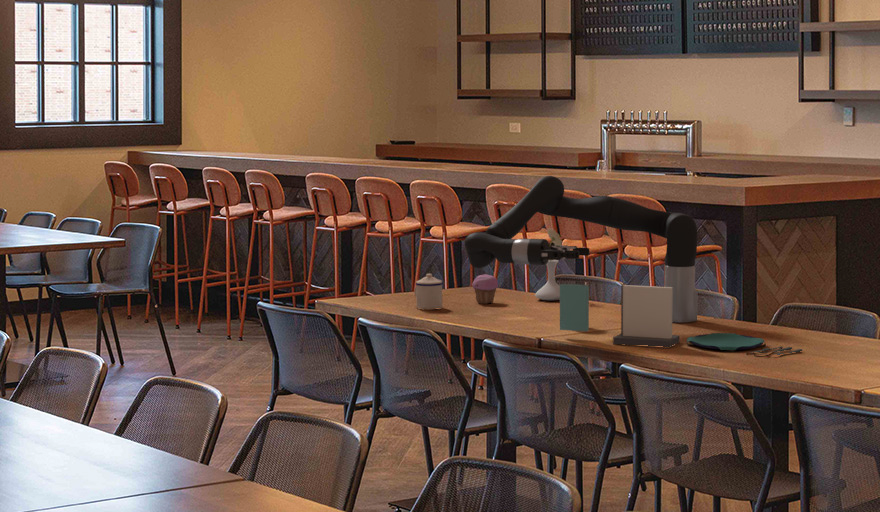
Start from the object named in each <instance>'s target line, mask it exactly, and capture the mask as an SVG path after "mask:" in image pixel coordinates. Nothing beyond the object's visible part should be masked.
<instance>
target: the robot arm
mask: <svg viewBox="0 0 880 512" xmlns="http://www.w3.org/2000/svg"><path fill="white" fill-rule="evenodd" d="M564 194H565V186H564V182H562V180H560V178H559V177H557V176H553V175H546V176H543V177H540V179H538V181H537V182H536V183H535V184H534V185H533V187H532V188H531V189H530V190H529V191H528V192H527V193H526V194H525V195H524V196H523V197H522V199H520V200H519V201H518V202H517V203H516V204H515V205H514V206H513V207H511V208H510V209H509V210H508V211H507V212H505V213H504V214H502V215H501V217H500V218H498V219H497V220H495V221H494V222H493V223H492V224H490V225H489V226H488V227H487V228H486V231H485V232H481V231H479V232H472V233H470V234H469V235H467V236H466V238H465V239H464V242H463V243H464V248H465V251H466V254H467V258H468V262H469V264H470V265H471V266H472V267H473V268H475V269H481V268H486V267H488V266H489V265H490V264H491V263H492V262H493V261H494V260H495V259H496V260H497V261H498V262H499V263H501V264H502V263H503V264H518V265H528V266H529V265H530V266H536V265H537V266H545V265H546V264H547V263H548V261H549V260H550V259H551V260H558V261H561V260H566V259H570V260H571V259H572V260H578V259H580V256H582V257H584V256H587V257H588V256H590V248H589V247H578V246H577V245H563V246H560V245H555V244H553V245H550V242H549V241H548V240H547V239H546V238H518V239H517V238H514V237H515V236H516V235H518V234H519V233H520V231H522V229H524V228H525V226H526V225H527V224H528V222H529V221H530V220H531V219H532V218H533V217H534V216H535V215H536V214H537V213H539V214H540V215H541V214H542V215H544V216H550V217H551V216H552V217H557V218H567V219H573V220H578V221H583V222H587V223H593V224H597V225H600V226H604V227H608V228H613V229H617V230H623V231H632V232H645V233H649V234H653V235H655V236H658V237H661V238H665V239H666V254H665V257H664V287H673V294H672V323H678V324H679V323H692V322H697V321H698V290H697V289H696V259H697V255H698V254H697V252H698V226H697V222H696V220H695V219H694V218H693V217H692V216H690V215H688V214H687V213H682V212H673V211H666V210H665V211H664V210H657V209H652V208H648V207H646V206H643V205H641V204H638V203H635V202H633V201H630V200H626V199H622V198H618V197H614V196H611V195H598V196H596V195H595V196H591V197H584V198H574V197H568V196H564ZM549 245H550V246H549ZM546 266H547V265H546Z"/></svg>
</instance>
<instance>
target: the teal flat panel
mask: <svg viewBox="0 0 880 512" xmlns="http://www.w3.org/2000/svg"><path fill="white" fill-rule="evenodd" d="M559 286H560V300H559V330H560V331H571V332H588V331H590V330H589V329H590V323H589V322H590V319H589V317H590V316H589V315H590V314H589V311H590V310H589V309H590V308H589V307H590V302H589V301H590V297H589V296H590V287H589V286H590V284H576V283H575V284H572V283H561V284H559Z"/></svg>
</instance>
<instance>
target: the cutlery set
mask: <svg viewBox="0 0 880 512" xmlns="http://www.w3.org/2000/svg"><path fill="white" fill-rule="evenodd" d="M689 343H691V344H693V345H694V346H698V347H702V348H705V349H706V348H707V349H713V350H721V351H722V350H734V351H737V350H738V351H740V350H741V351H743V350H751V349H754V348H755V349H756V348H759V347H760V346H762V345H763V344H764V345H763V347H764V346H765V347H766V342H765V339H764V338H761V337H760V338H759V337H754V336H751V335H744V334H738V333H731V332H729V333H728V332H713V333H707V334H706V333H705V334H699V335H695V336H689V337H687V338H686V344H687V345H689ZM777 348H779V349H777ZM780 348H783V346H779V347H773V348H768V347H766V348H762V350H761V349H760V350H754V351H750V352H751V353H752V352H753V353H754V352H760V351H767V350H770V351H772V349H773V350H774V351H772V352H777V351H780V352H777V353H773V355H774V354H777V355H780V354H784V353H785V352H784V350H786V351H789V353H792V352H800V351H802V352H803V349H802V348H798V349H794V350H793V347H792V346H788V347H784V348H783V349H780ZM791 349H792V350H791ZM782 352H784V353H782ZM760 353H769V351H767V352H760Z"/></svg>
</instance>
